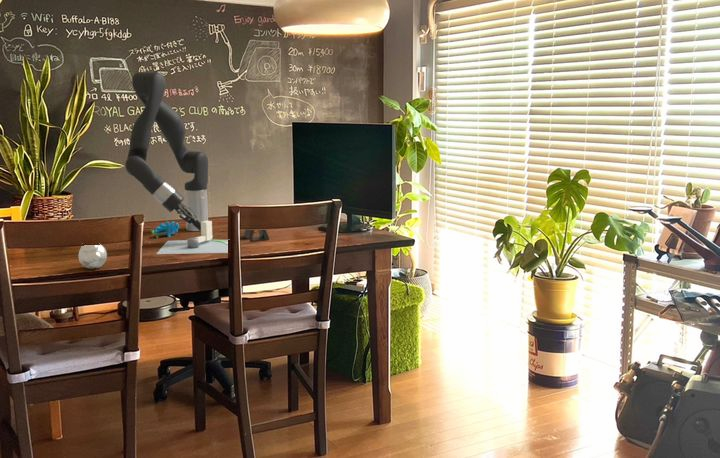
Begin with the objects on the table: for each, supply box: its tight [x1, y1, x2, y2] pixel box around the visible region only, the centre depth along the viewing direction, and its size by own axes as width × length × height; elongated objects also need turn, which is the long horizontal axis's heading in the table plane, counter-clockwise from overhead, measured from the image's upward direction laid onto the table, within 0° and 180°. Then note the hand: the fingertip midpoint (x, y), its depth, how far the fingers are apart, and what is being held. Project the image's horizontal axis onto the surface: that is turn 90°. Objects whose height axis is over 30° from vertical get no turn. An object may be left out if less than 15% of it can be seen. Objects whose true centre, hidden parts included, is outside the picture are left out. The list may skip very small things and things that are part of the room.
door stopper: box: [243, 229, 270, 242], centre depth 283 cm, size 9×6×12 cm, turn 117°
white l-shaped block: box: [186, 220, 214, 248], centre depth 269 cm, size 16×4×8 cm, turn 162°
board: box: [156, 238, 229, 255], centre depth 266 cm, size 25×26×2 cm
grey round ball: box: [78, 243, 108, 270], centre depth 235 cm, size 9×10×10 cm
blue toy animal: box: [151, 220, 180, 239], centre depth 284 cm, size 11×6×10 cm
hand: (202, 228), depth 273 cm, fingers closed
